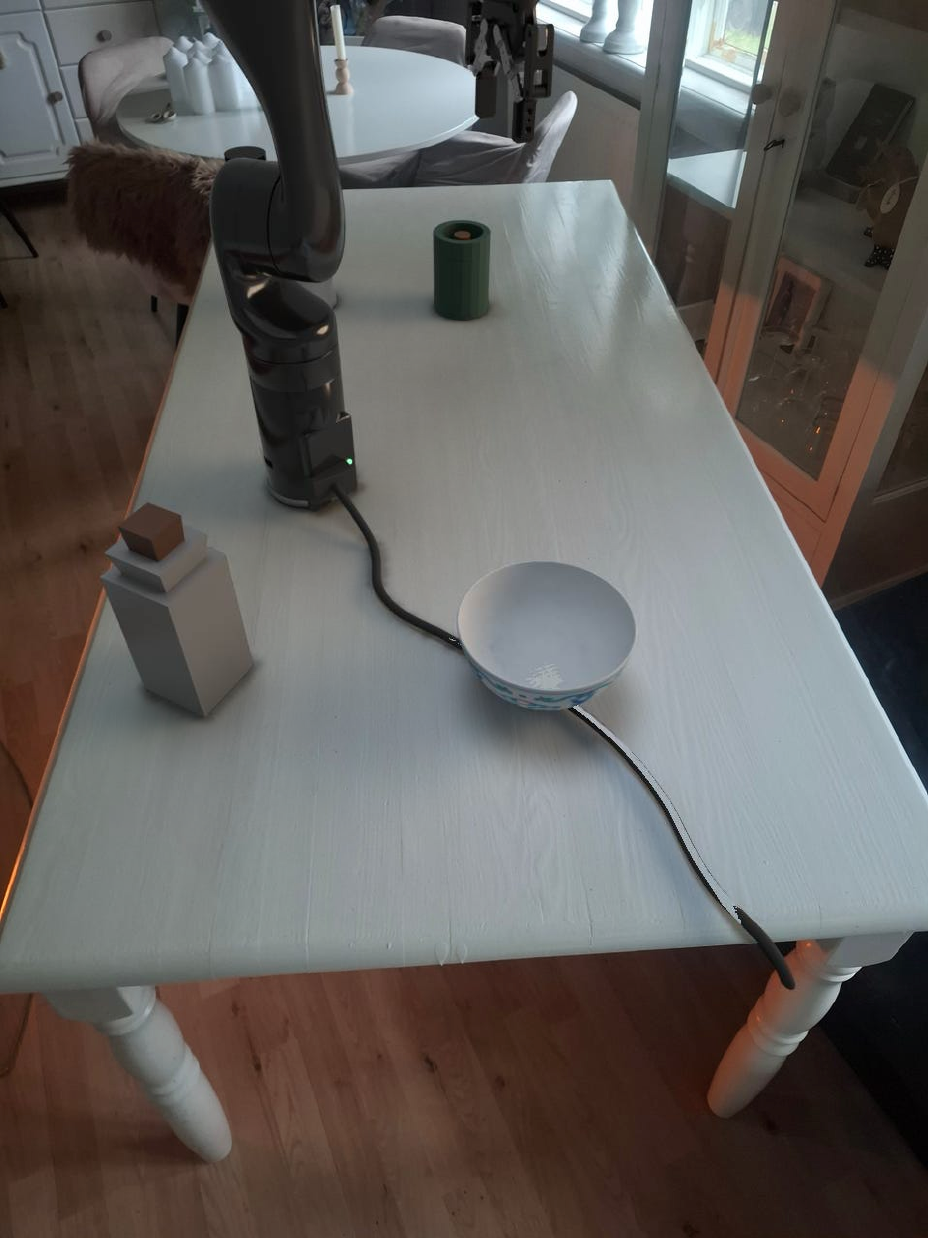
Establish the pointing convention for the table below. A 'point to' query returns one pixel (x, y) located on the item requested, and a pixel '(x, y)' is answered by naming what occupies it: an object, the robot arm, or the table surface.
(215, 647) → the perfume bottle
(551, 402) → the table surface
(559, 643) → the chinaware
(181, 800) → the table surface
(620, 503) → the table surface
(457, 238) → the brown banded cylinder
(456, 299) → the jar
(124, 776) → the table surface
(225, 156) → the supplement container
